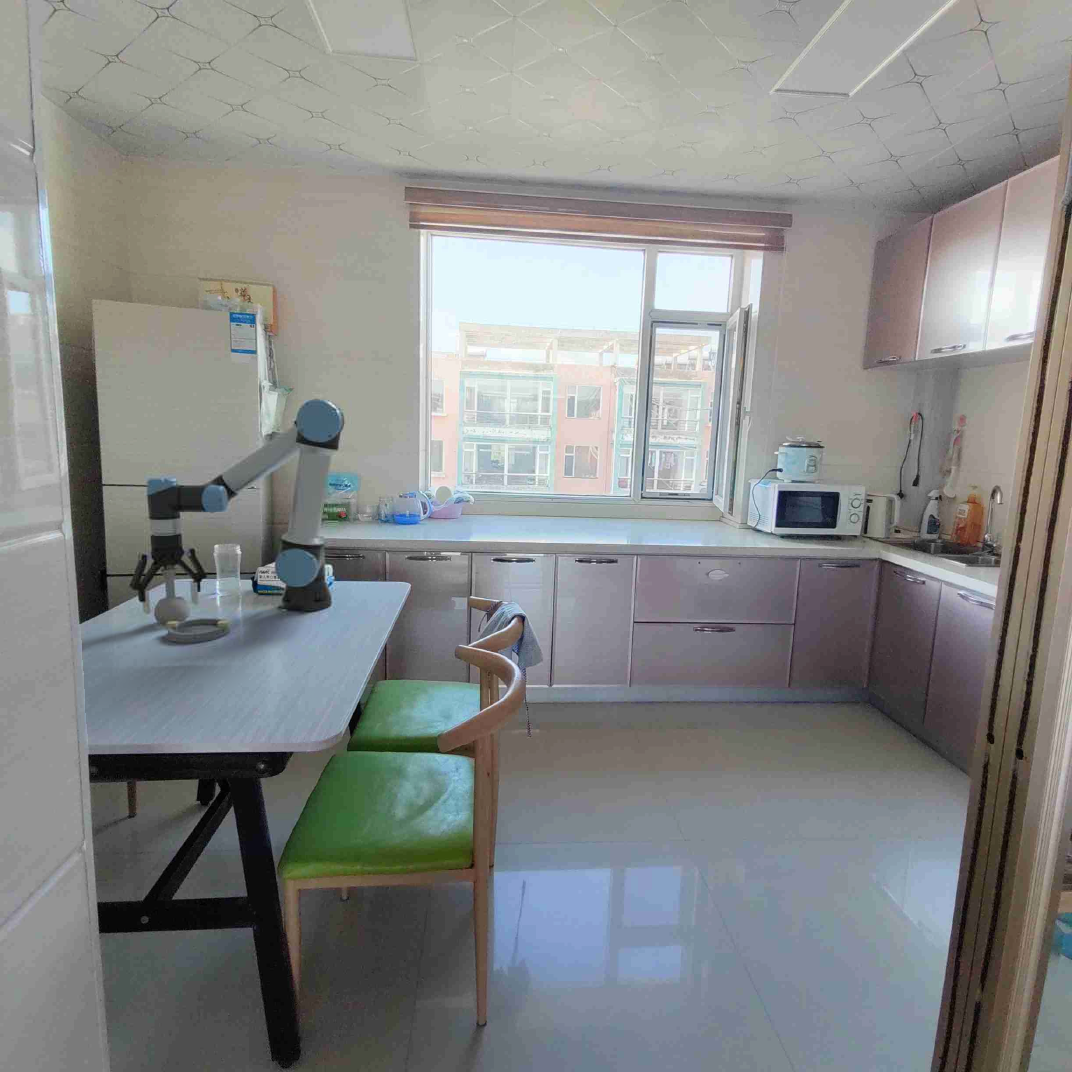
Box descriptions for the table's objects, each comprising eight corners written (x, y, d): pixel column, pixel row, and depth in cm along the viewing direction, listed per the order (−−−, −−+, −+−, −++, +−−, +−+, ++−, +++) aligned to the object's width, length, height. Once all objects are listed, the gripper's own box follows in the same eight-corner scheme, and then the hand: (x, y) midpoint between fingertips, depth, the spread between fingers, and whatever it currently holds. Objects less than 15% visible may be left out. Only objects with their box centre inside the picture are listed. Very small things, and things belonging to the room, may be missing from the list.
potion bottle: (197, 619, 179) (193, 558, 176) (176, 628, 171) (171, 565, 167) (169, 617, 180) (164, 557, 177) (147, 626, 171) (142, 563, 168)
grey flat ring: (238, 624, 175) (237, 613, 175) (218, 642, 161) (217, 630, 160) (181, 625, 173) (180, 614, 173) (155, 643, 159) (154, 631, 158)
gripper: (204, 527, 183) (209, 597, 186) (110, 536, 164) (117, 614, 167) (216, 530, 178) (221, 601, 182) (121, 540, 159) (128, 620, 163)
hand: (171, 608), depth 175 cm, fingers open, 12 cm apart
